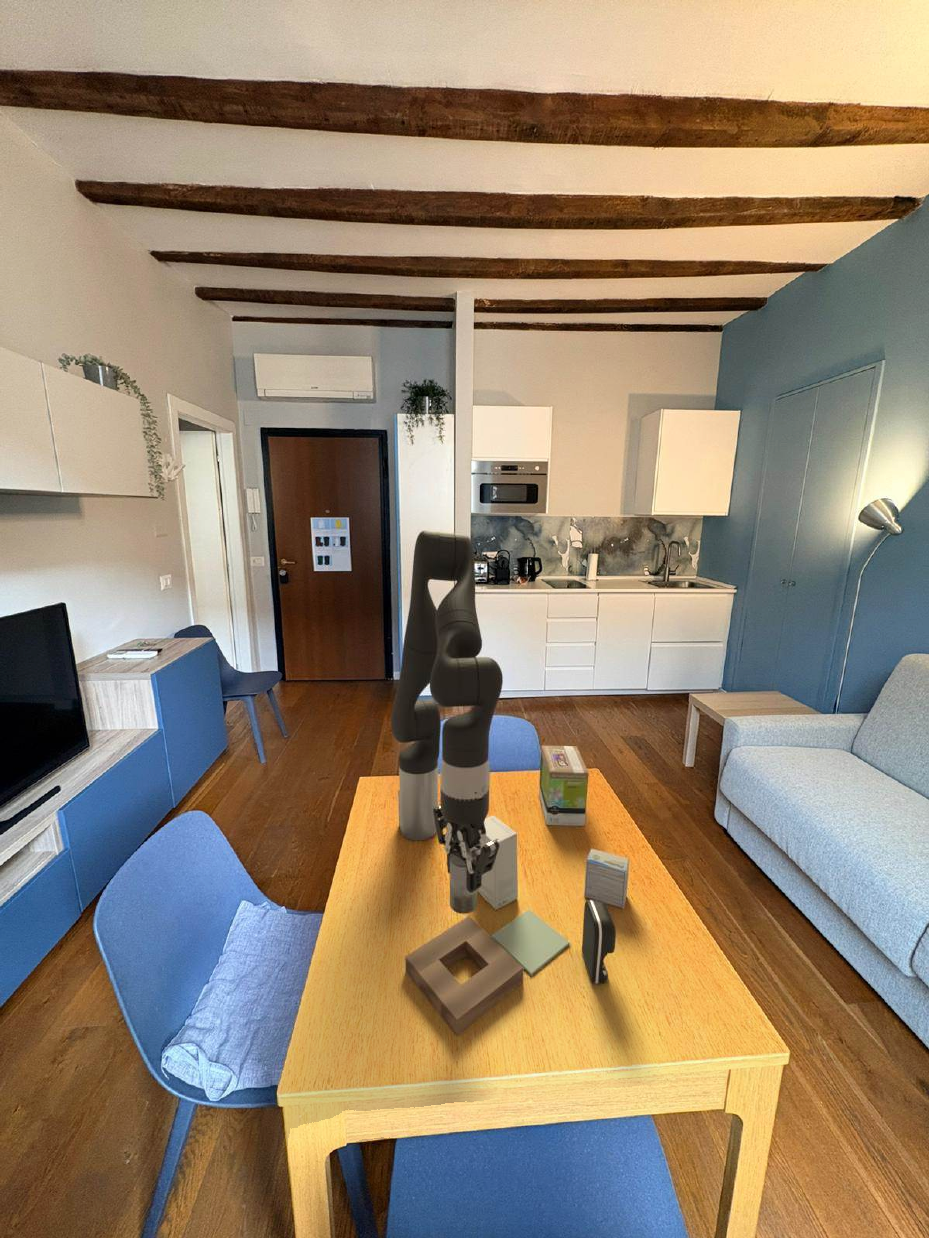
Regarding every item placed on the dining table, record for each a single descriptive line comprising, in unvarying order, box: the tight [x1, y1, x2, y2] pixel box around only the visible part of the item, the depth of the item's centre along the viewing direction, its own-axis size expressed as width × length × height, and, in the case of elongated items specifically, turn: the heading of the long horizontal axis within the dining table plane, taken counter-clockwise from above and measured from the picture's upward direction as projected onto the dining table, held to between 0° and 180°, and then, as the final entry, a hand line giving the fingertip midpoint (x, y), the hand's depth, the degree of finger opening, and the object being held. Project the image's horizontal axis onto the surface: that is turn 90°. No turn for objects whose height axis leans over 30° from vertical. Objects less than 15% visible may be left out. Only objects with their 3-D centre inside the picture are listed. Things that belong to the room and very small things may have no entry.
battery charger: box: [581, 899, 617, 985], centre depth 86 cm, size 7×4×11 cm, turn 2°
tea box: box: [538, 745, 589, 827], centre depth 132 cm, size 15×10×15 cm
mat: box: [490, 908, 571, 976], centre depth 93 cm, size 10×10×1 cm
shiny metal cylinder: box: [449, 846, 478, 915], centre depth 81 cm, size 4×4×9 cm
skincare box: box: [473, 815, 519, 910], centre depth 103 cm, size 8×6×15 cm
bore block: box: [404, 915, 524, 1037], centre depth 85 cm, size 14×14×3 cm
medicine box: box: [583, 848, 630, 910], centre depth 103 cm, size 8×4×9 cm, turn 65°
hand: (463, 879), depth 81 cm, fingers closed on shiny metal cylinder, 4 cm apart
